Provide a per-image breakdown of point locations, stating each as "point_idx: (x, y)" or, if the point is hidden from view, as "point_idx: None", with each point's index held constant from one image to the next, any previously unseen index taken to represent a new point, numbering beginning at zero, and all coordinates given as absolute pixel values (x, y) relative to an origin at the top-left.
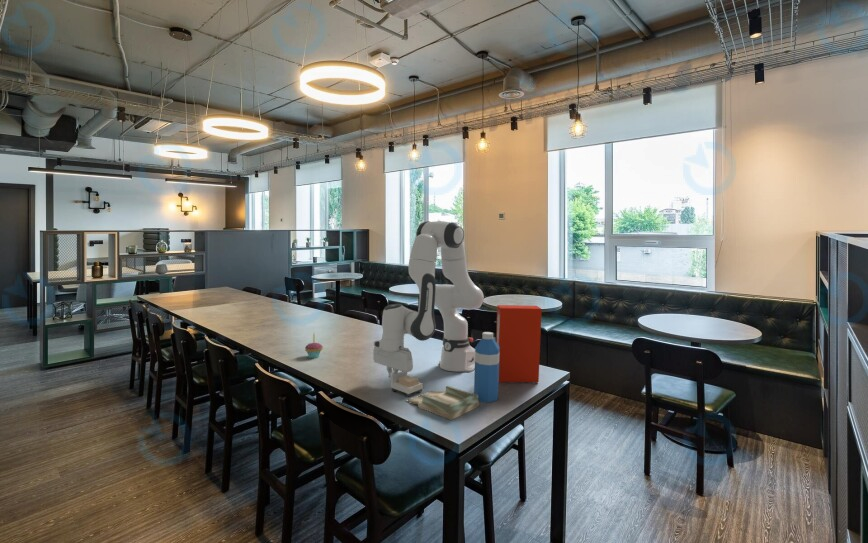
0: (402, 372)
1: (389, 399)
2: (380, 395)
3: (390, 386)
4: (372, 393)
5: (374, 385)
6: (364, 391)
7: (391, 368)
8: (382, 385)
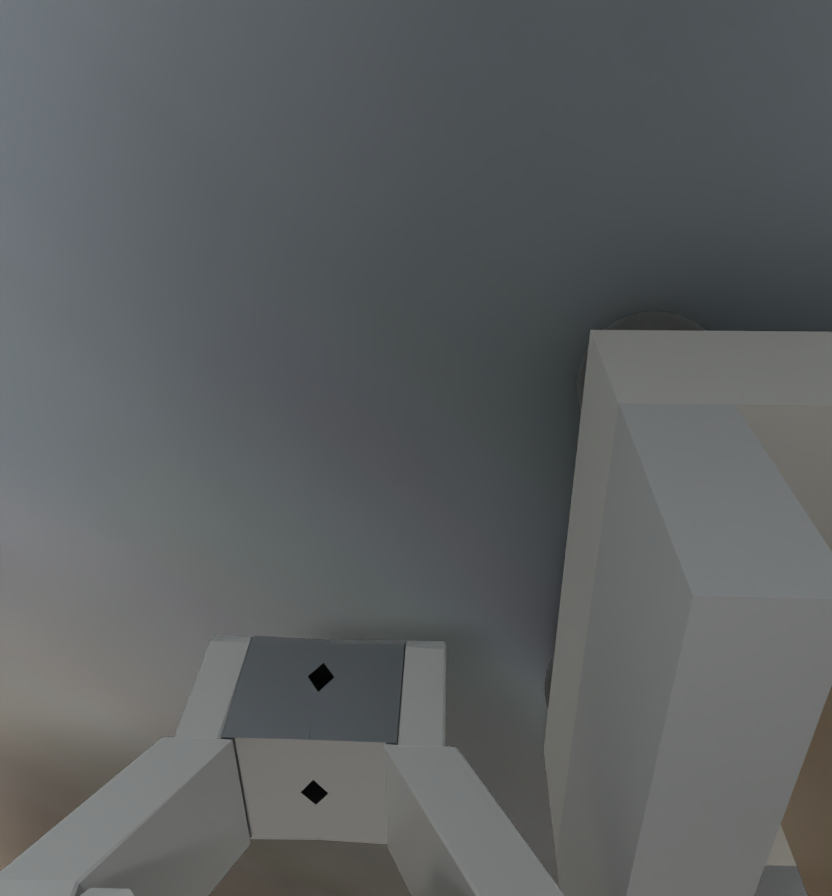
0: (777, 828)
1: (781, 874)
2: (546, 859)
3: (547, 768)
4: (385, 873)
5: (68, 680)
6: (229, 887)
7: (103, 877)
8: (162, 596)
